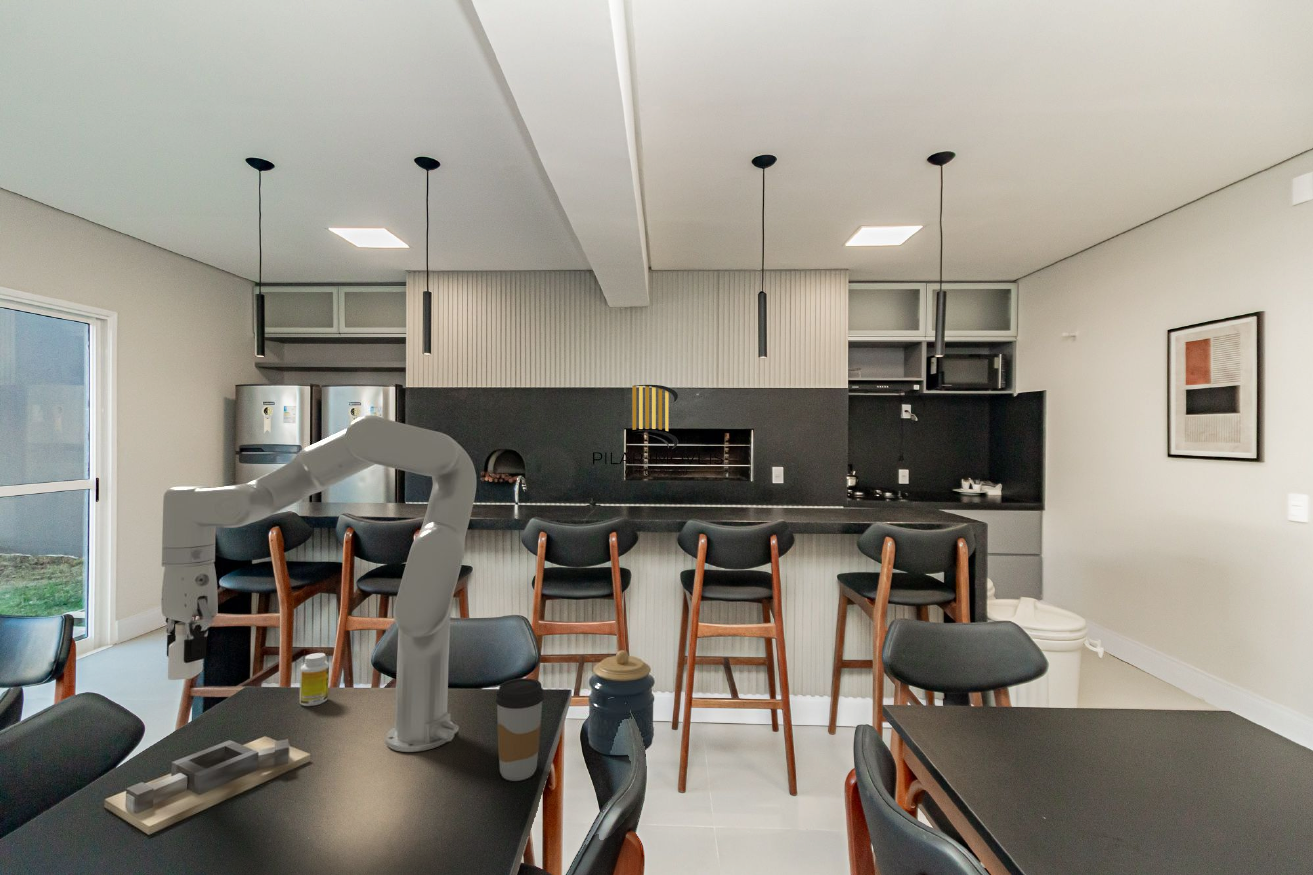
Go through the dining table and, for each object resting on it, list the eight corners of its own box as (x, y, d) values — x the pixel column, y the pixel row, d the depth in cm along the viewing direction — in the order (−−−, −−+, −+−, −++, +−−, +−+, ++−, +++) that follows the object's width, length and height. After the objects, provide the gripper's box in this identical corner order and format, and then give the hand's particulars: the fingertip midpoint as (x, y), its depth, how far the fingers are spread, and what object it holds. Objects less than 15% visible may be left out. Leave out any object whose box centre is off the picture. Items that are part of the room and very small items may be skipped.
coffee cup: (551, 771, 105) (553, 685, 106) (511, 790, 99) (513, 699, 100) (524, 754, 111) (526, 673, 112) (484, 771, 105) (486, 685, 105)
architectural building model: (265, 742, 114) (265, 720, 114) (310, 760, 108) (311, 737, 108) (104, 807, 93) (105, 779, 93) (148, 834, 86) (149, 805, 86)
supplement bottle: (330, 702, 133) (331, 656, 133) (301, 709, 129) (303, 661, 129) (325, 694, 137) (326, 649, 137) (297, 700, 133) (298, 654, 134)
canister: (612, 721, 126) (614, 636, 126) (665, 736, 119) (667, 647, 120) (573, 746, 115) (575, 653, 115) (630, 765, 108) (631, 666, 109)
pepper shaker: (192, 679, 105) (193, 625, 105) (166, 681, 104) (167, 626, 104) (204, 671, 108) (205, 618, 109) (178, 673, 108) (180, 620, 108)
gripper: (238, 556, 106) (235, 659, 105) (189, 548, 114) (186, 644, 113) (188, 563, 99) (185, 673, 99) (140, 554, 107) (137, 656, 107)
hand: (186, 656), depth 106 cm, fingers closed on pepper shaker, 5 cm apart
